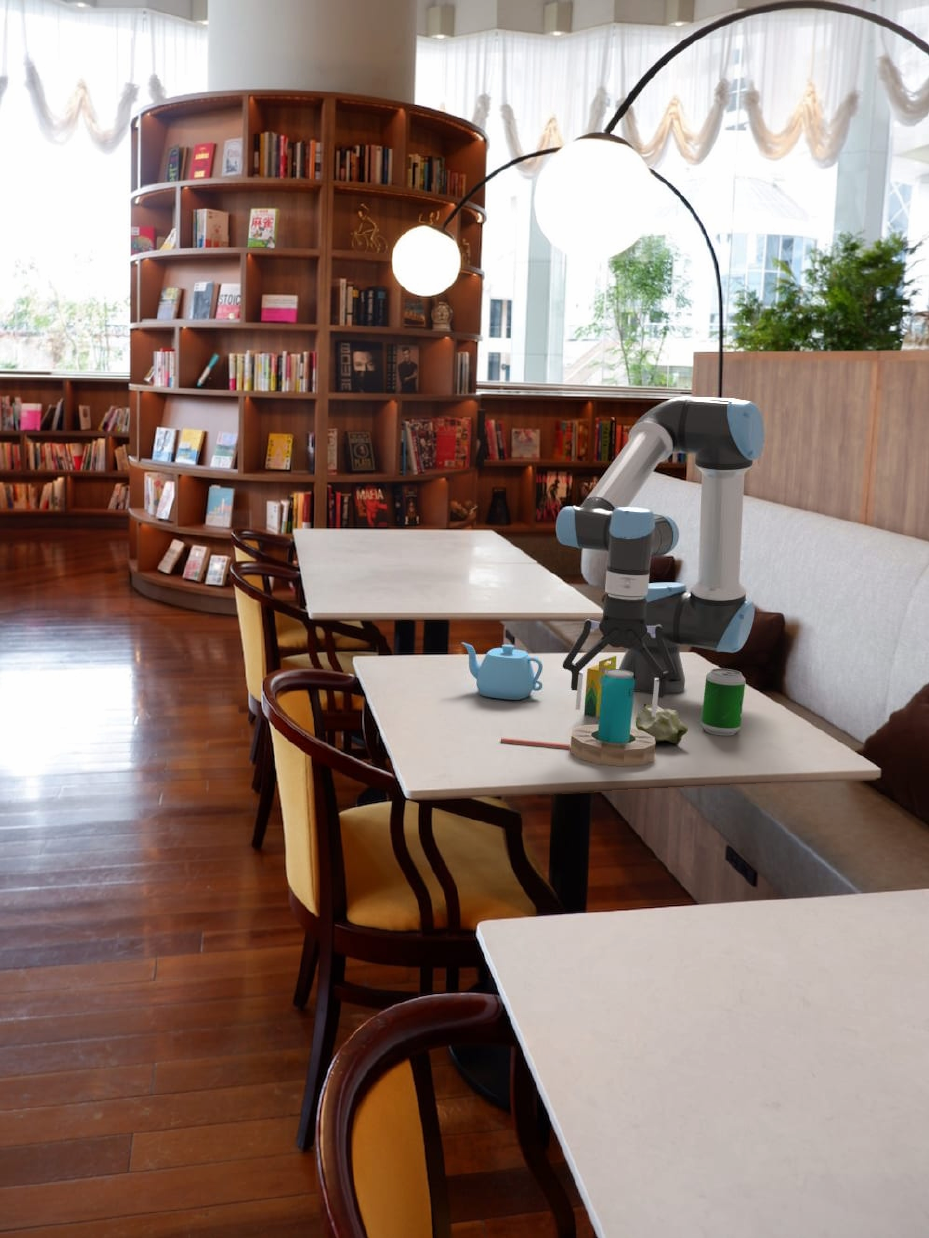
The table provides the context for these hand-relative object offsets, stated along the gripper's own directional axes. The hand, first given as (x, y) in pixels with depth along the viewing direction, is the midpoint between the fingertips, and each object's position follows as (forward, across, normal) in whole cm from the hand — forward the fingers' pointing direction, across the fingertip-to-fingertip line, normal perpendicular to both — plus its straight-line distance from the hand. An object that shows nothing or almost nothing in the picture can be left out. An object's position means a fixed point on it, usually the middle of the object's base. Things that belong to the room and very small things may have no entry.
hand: (615, 711), depth 215 cm
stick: (+8, -14, 0) cm, 16 cm away
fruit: (+8, +9, +10) cm, 15 cm away
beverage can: (+8, 0, 0) cm, 8 cm away
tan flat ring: (+8, 0, 0) cm, 8 cm away
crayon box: (+8, -3, +26) cm, 27 cm away
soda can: (+8, +21, +21) cm, 31 cm away
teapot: (+8, -24, +34) cm, 42 cm away
